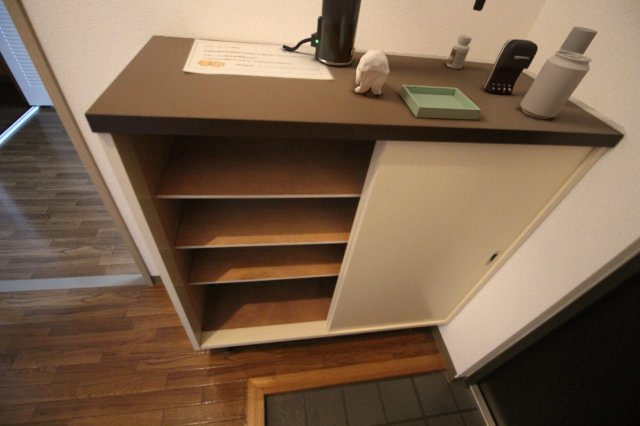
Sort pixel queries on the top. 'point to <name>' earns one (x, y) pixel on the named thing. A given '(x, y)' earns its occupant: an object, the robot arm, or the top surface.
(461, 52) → the pill bottle
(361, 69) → the white bear figurine
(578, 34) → the container
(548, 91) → the can
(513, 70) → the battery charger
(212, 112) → the top surface
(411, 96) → the tray
